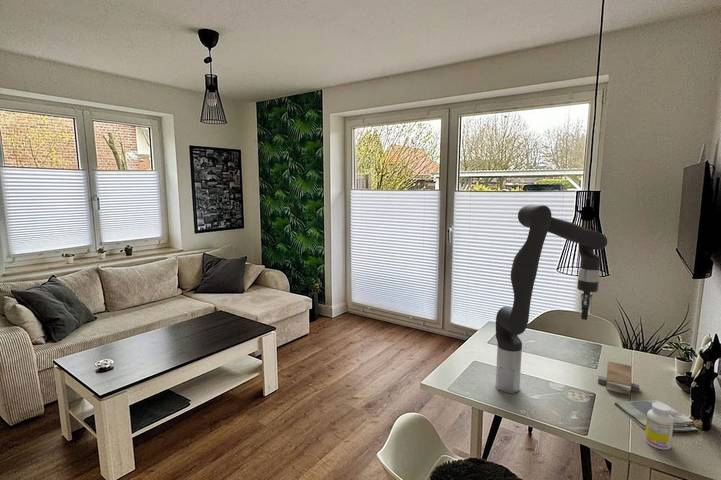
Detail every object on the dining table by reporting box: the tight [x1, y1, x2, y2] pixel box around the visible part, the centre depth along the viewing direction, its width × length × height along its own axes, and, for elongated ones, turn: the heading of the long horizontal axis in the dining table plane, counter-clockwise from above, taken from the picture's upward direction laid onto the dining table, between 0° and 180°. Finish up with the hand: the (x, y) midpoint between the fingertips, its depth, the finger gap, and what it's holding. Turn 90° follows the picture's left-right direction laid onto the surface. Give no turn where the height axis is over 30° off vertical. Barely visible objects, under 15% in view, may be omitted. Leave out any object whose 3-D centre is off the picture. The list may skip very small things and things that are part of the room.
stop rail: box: [597, 375, 640, 394], centre depth 157 cm, size 3×14×2 cm, turn 57°
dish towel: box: [613, 399, 700, 434], centre depth 136 cm, size 19×18×3 cm
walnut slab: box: [605, 360, 632, 396], centre depth 156 cm, size 4×8×11 cm
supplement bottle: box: [644, 402, 674, 451], centre depth 121 cm, size 7×7×13 cm
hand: (584, 319), depth 163 cm, fingers closed
